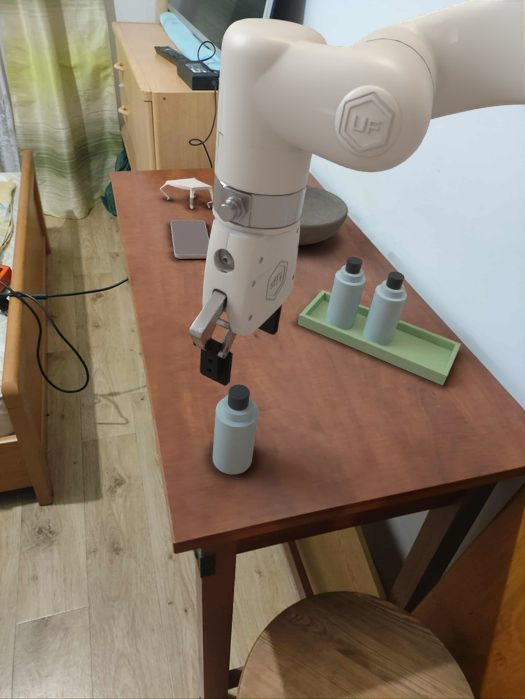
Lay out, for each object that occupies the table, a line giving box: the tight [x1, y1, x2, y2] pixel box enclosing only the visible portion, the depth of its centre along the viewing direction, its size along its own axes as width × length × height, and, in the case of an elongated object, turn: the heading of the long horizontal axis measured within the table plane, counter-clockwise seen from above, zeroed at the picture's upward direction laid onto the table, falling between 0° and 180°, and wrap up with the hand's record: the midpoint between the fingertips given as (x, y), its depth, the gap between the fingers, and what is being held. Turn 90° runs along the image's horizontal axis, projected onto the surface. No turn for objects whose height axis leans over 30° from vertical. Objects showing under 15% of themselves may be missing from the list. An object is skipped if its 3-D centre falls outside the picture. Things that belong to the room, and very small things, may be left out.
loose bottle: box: [212, 383, 260, 476], centre depth 61 cm, size 5×5×12 cm
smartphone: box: [170, 219, 210, 260], centre depth 105 cm, size 7×1×15 cm
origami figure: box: [159, 177, 213, 210], centre depth 117 cm, size 12×8×5 cm
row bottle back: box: [326, 256, 367, 329], centre depth 85 cm, size 5×5×12 cm
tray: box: [297, 289, 462, 387], centre depth 86 cm, size 26×10×2 cm, turn 60°
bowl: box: [299, 184, 349, 246], centre depth 109 cm, size 21×21×8 cm
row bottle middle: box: [363, 270, 408, 345], centre depth 83 cm, size 5×5×12 cm
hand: (240, 352), depth 53 cm, fingers open, 9 cm apart
